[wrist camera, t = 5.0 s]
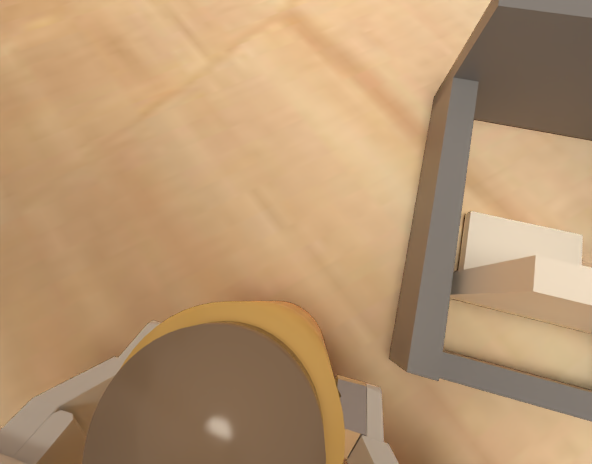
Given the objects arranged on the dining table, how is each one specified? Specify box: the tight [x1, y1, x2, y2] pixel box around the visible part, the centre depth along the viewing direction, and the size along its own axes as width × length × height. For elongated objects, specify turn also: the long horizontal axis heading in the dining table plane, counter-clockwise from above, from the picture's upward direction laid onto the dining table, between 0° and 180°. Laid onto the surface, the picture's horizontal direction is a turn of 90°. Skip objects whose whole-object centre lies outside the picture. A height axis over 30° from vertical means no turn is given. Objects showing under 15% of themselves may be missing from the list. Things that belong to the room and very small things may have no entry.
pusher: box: [450, 211, 592, 334], centre depth 12 cm, size 5×8×7 cm, turn 76°
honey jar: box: [82, 301, 345, 464], centre depth 11 cm, size 6×6×11 cm
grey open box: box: [389, 0, 592, 421], centre depth 13 cm, size 17×12×7 cm
